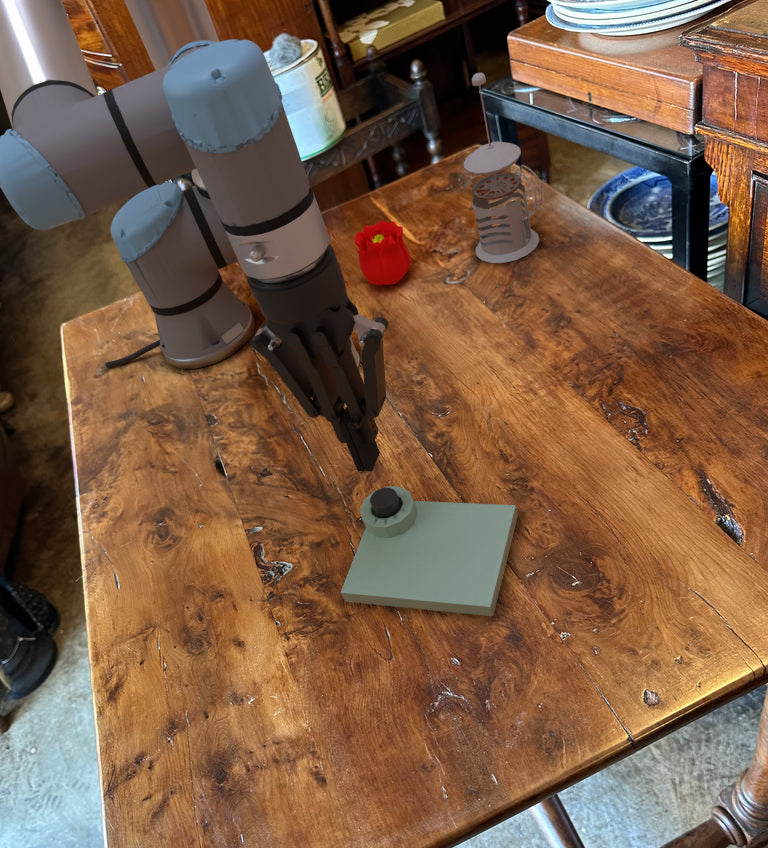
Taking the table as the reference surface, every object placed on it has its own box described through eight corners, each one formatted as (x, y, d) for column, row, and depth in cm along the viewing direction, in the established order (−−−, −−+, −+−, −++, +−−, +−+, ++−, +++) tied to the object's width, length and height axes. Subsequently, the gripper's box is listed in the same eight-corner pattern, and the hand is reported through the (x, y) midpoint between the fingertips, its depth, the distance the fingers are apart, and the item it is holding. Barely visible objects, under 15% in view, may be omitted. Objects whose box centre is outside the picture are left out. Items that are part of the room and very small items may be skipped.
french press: (494, 224, 125) (464, 58, 108) (561, 230, 119) (541, 54, 101) (463, 259, 121) (426, 91, 103) (531, 267, 115) (504, 90, 97)
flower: (424, 271, 122) (412, 224, 116) (391, 299, 119) (376, 252, 113) (389, 261, 127) (375, 216, 121) (356, 288, 124) (340, 242, 118)
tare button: (370, 518, 86) (366, 507, 84) (378, 497, 87) (374, 486, 86) (396, 519, 84) (392, 508, 83) (404, 498, 86) (400, 487, 85)
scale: (341, 601, 83) (330, 581, 81) (378, 505, 91) (369, 485, 88) (493, 616, 77) (487, 596, 74) (519, 512, 85) (514, 490, 82)
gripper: (200, 291, 64) (299, 486, 81) (346, 280, 59) (419, 491, 76) (237, 240, 69) (323, 435, 85) (375, 226, 64) (438, 436, 80)
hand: (368, 461), depth 81 cm, fingers closed
